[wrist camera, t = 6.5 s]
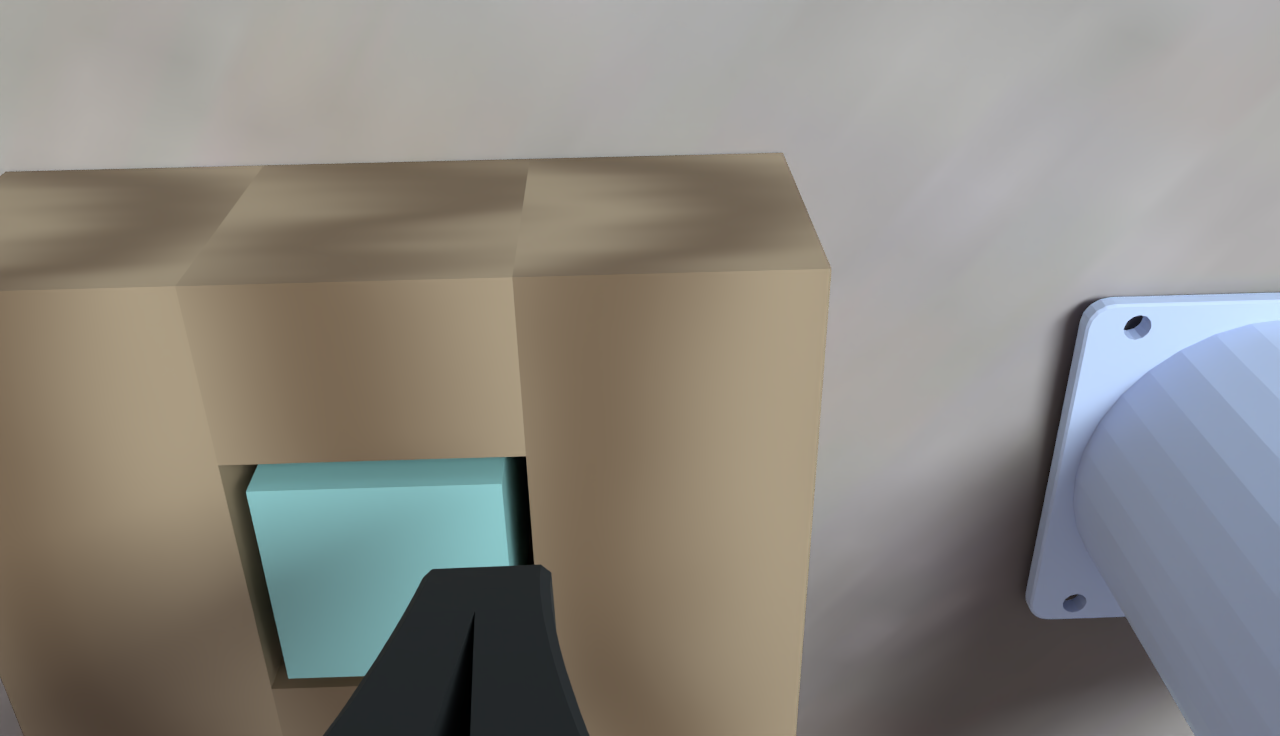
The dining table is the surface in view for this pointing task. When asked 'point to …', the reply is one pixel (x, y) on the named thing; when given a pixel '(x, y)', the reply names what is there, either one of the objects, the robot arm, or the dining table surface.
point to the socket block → (408, 419)
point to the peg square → (375, 545)
